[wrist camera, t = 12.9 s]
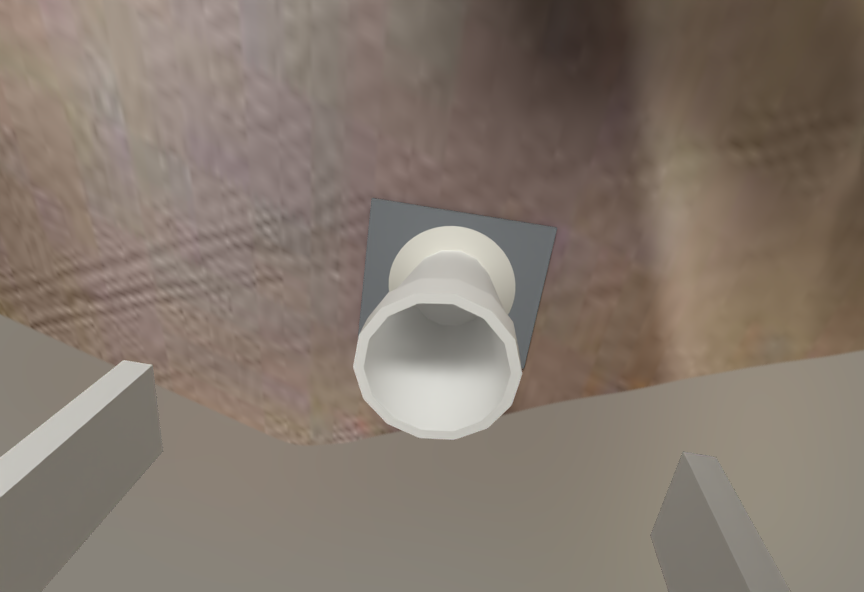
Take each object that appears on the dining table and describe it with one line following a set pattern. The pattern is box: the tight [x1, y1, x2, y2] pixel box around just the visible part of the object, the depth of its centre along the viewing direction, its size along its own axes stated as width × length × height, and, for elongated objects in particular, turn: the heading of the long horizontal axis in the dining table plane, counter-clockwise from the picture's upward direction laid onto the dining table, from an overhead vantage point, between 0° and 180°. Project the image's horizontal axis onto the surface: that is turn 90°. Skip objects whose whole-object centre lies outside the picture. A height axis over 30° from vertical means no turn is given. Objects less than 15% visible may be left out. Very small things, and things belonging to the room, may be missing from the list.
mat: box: [358, 198, 557, 368], centre depth 42 cm, size 12×14×1 cm
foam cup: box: [353, 250, 522, 440], centre depth 36 cm, size 10×9×13 cm
